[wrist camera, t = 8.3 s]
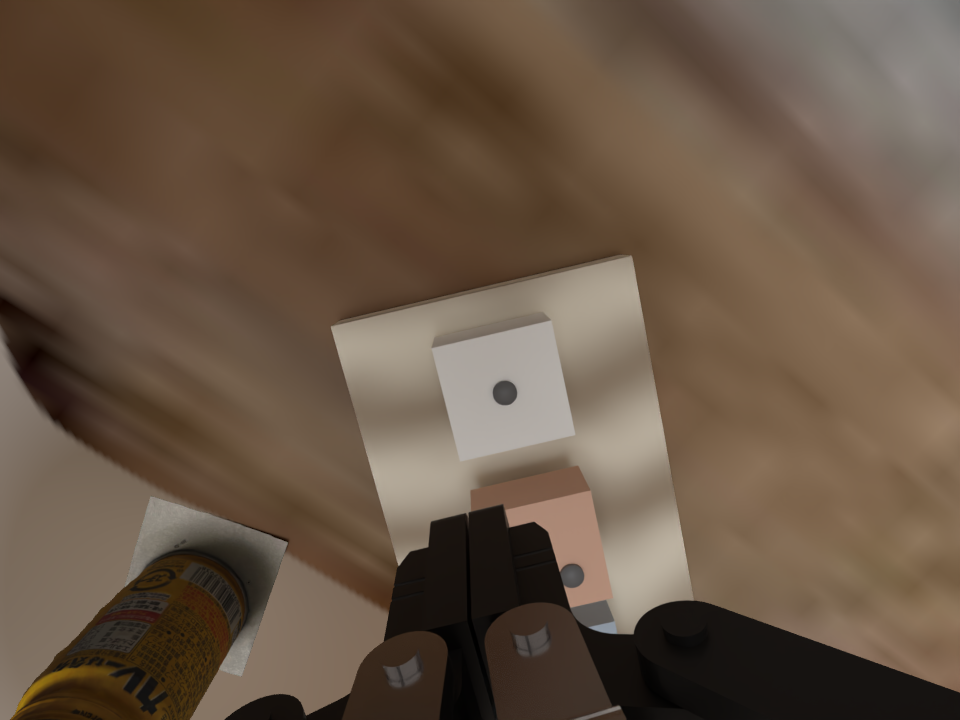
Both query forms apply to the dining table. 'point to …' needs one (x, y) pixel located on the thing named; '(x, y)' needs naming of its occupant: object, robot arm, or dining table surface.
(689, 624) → the robot arm
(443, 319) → the board
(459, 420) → the light grey square block
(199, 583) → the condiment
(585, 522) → the tile
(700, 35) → the dining table surface
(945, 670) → the dining table surface
